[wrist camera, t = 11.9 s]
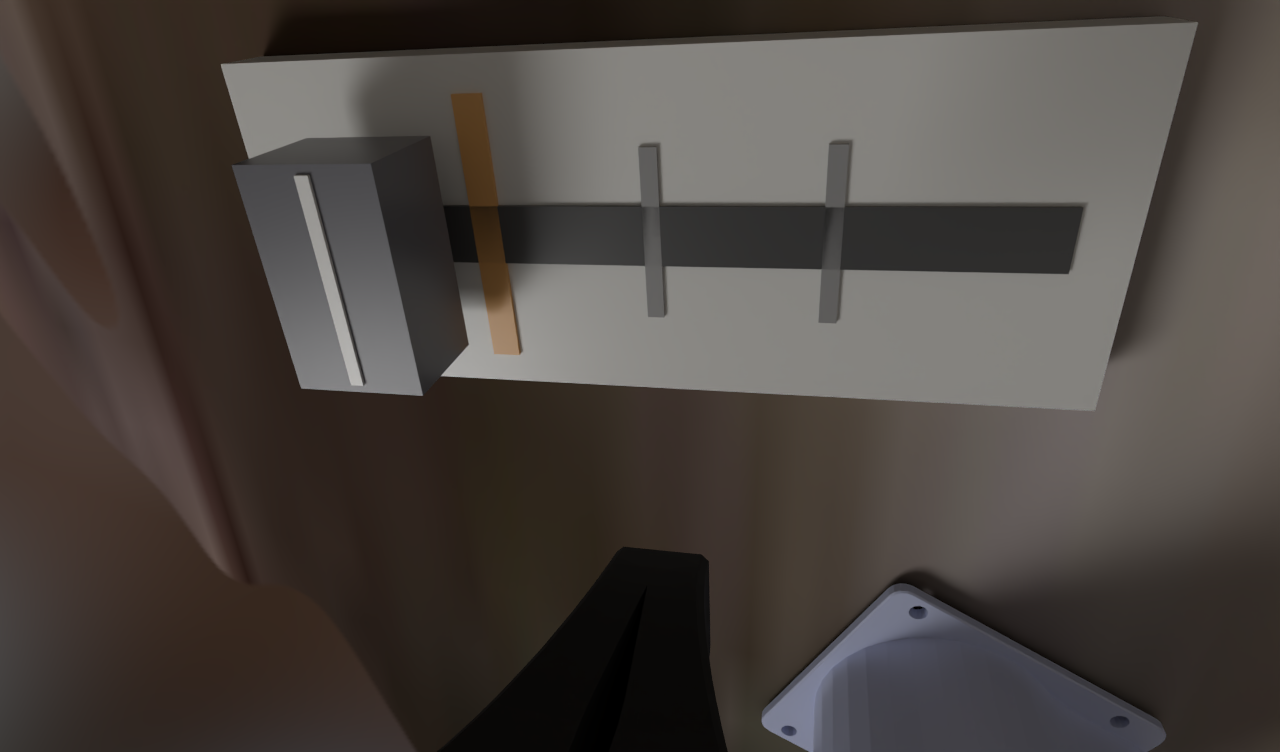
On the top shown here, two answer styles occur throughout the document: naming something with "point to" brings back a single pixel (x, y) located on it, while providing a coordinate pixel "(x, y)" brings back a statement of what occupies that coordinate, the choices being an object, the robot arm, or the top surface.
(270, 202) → the fader knob
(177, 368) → the top surface
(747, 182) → the fader board
